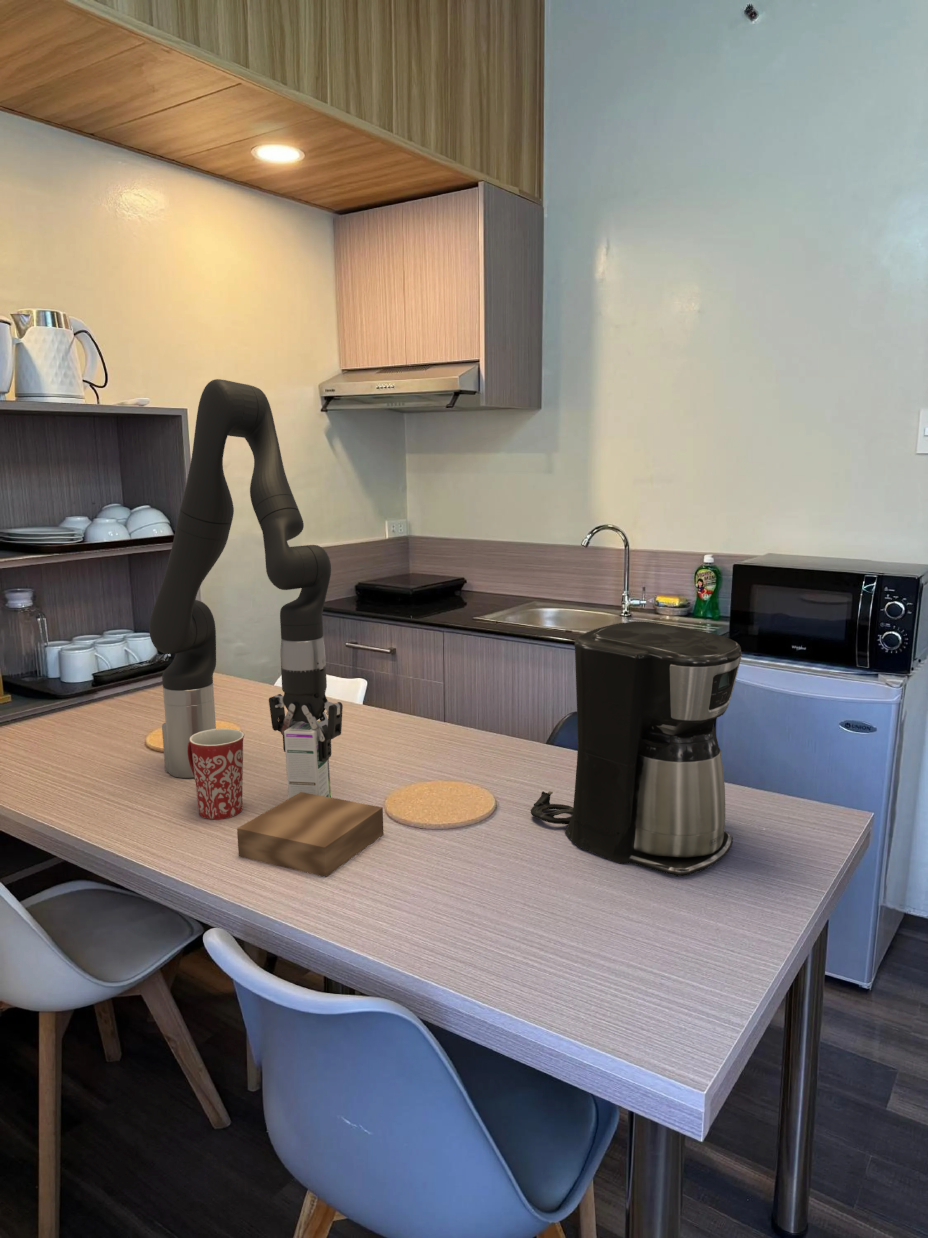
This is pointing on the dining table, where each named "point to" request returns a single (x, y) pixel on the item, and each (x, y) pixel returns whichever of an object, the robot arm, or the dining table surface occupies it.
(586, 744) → the coffee maker
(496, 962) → the dining table surface
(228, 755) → the mug
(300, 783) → the syrup box
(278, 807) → the walnut riser
